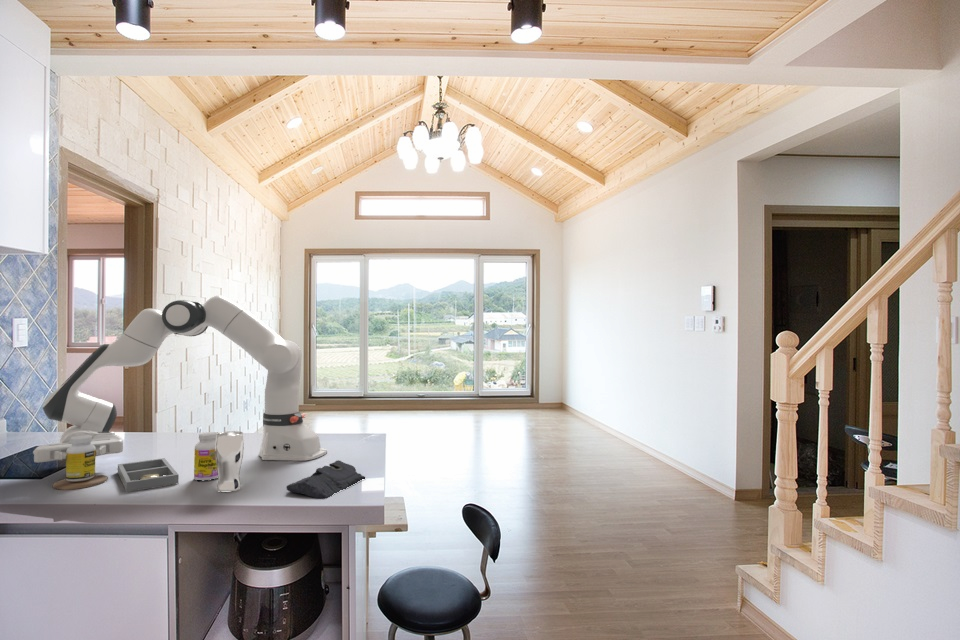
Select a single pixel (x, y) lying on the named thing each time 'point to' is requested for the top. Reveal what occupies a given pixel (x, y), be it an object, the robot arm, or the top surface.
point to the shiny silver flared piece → (229, 459)
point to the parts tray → (144, 468)
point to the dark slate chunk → (327, 480)
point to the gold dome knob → (149, 476)
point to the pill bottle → (80, 459)
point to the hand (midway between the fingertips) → (81, 454)
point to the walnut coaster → (79, 483)
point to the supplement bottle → (205, 457)
